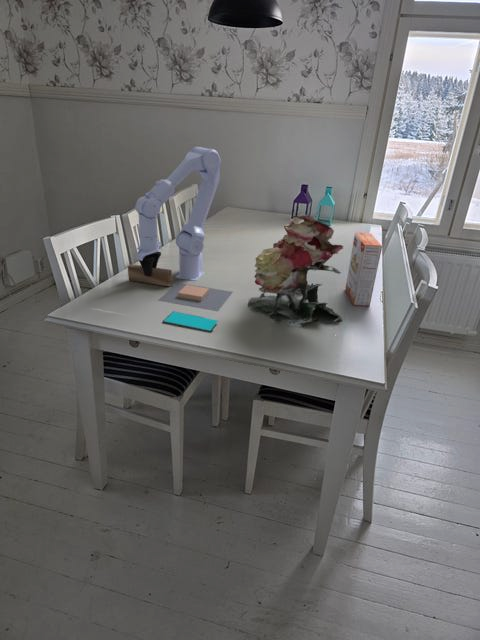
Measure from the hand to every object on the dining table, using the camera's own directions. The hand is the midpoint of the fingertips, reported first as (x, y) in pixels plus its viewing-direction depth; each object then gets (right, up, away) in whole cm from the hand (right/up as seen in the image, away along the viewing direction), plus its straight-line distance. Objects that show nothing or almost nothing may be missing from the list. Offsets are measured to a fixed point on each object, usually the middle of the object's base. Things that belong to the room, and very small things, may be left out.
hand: (150, 274), depth 144 cm
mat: (+16, -8, -6) cm, 19 cm away
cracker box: (+71, -8, +1) cm, 71 cm away
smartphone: (+17, -17, -21) cm, 32 cm away
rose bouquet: (+46, -12, -10) cm, 49 cm away
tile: (+12, -6, -5) cm, 14 cm away
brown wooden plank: (0, -2, +1) cm, 3 cm away
